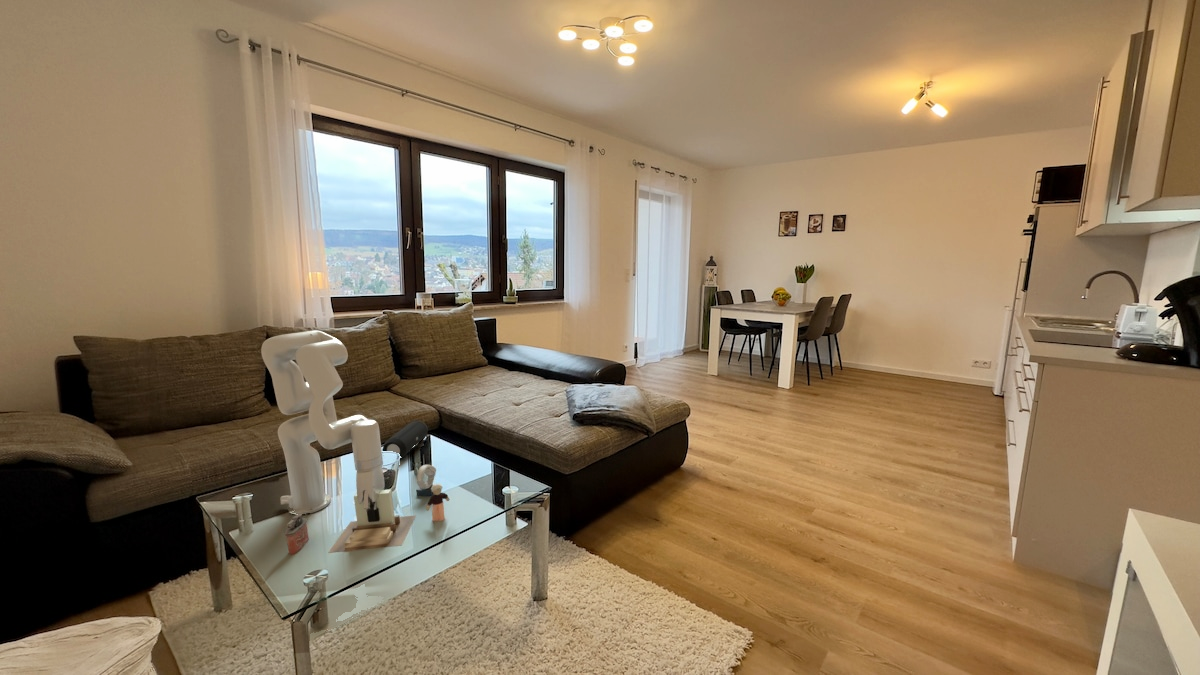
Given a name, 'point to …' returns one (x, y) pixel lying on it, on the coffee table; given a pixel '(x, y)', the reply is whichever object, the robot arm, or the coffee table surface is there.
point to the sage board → (382, 503)
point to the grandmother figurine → (437, 502)
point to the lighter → (296, 534)
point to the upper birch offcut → (370, 534)
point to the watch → (426, 488)
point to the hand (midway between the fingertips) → (375, 517)
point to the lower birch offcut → (368, 542)
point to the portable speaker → (406, 438)
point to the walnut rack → (398, 528)
